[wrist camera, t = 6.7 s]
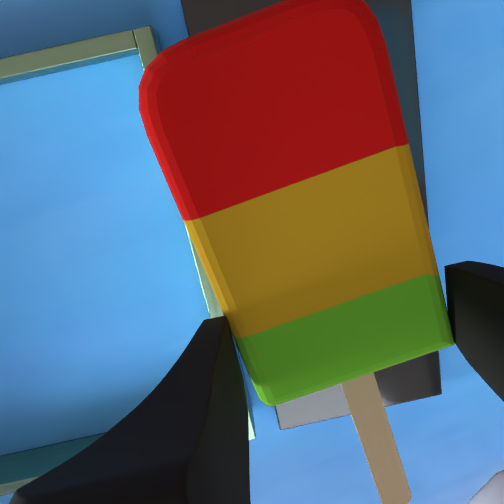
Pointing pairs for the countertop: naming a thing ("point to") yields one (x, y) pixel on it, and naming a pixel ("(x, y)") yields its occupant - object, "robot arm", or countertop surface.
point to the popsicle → (303, 204)
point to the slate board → (404, 71)
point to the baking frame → (148, 47)
